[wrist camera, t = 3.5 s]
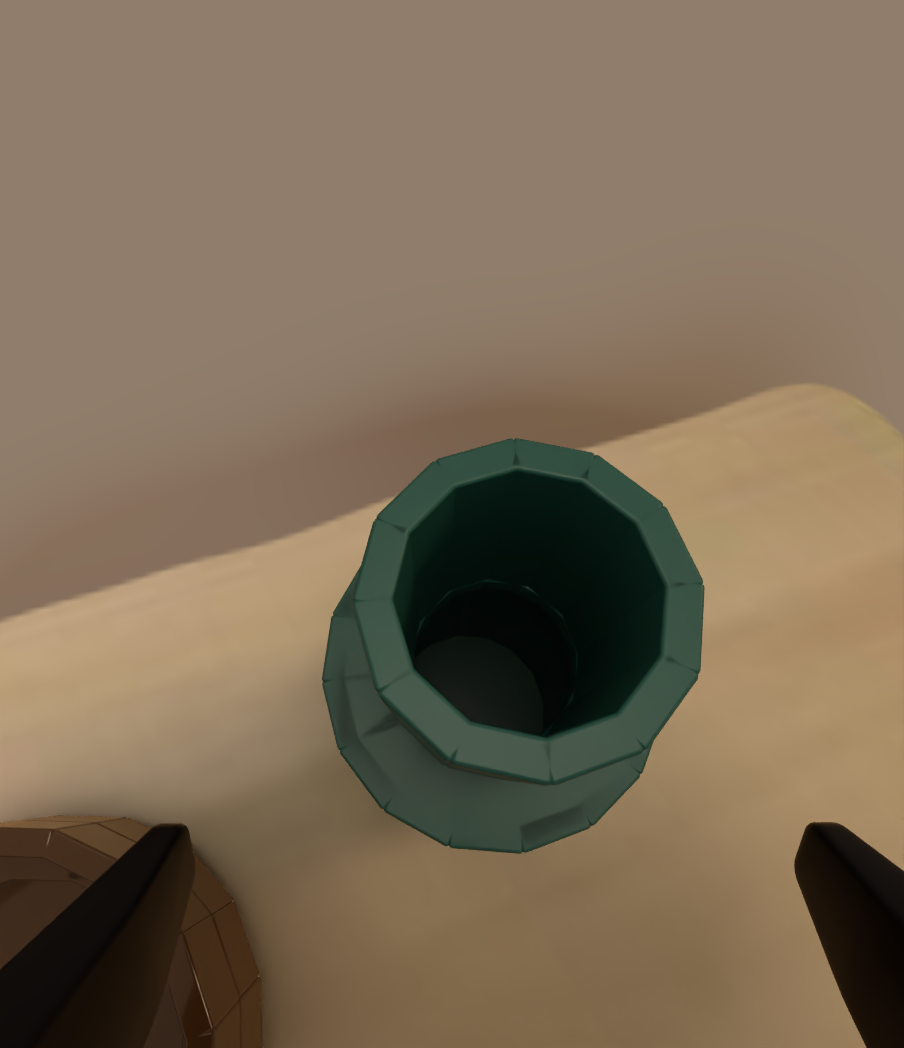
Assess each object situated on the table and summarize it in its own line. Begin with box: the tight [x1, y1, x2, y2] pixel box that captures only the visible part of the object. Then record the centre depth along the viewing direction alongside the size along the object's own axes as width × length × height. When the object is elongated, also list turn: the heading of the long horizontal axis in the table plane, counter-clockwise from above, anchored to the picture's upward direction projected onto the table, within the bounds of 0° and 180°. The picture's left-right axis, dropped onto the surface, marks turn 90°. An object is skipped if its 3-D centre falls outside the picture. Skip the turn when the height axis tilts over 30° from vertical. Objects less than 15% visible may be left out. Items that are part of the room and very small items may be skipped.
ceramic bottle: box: [322, 439, 704, 854], centre depth 12 cm, size 5×5×14 cm
